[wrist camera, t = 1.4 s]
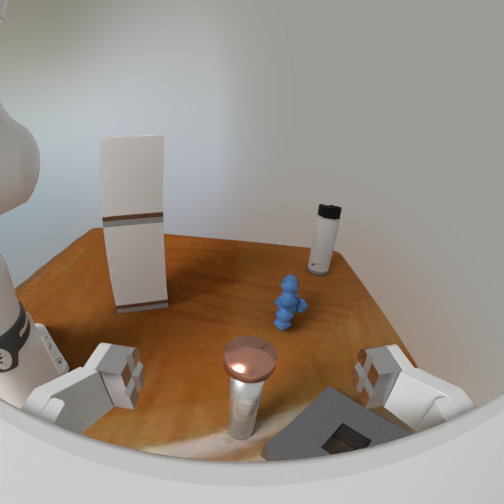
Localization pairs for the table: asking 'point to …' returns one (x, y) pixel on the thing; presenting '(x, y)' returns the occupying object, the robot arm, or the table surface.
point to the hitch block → (330, 428)
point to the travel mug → (324, 239)
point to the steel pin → (246, 381)
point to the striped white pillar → (134, 220)
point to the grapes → (288, 303)
